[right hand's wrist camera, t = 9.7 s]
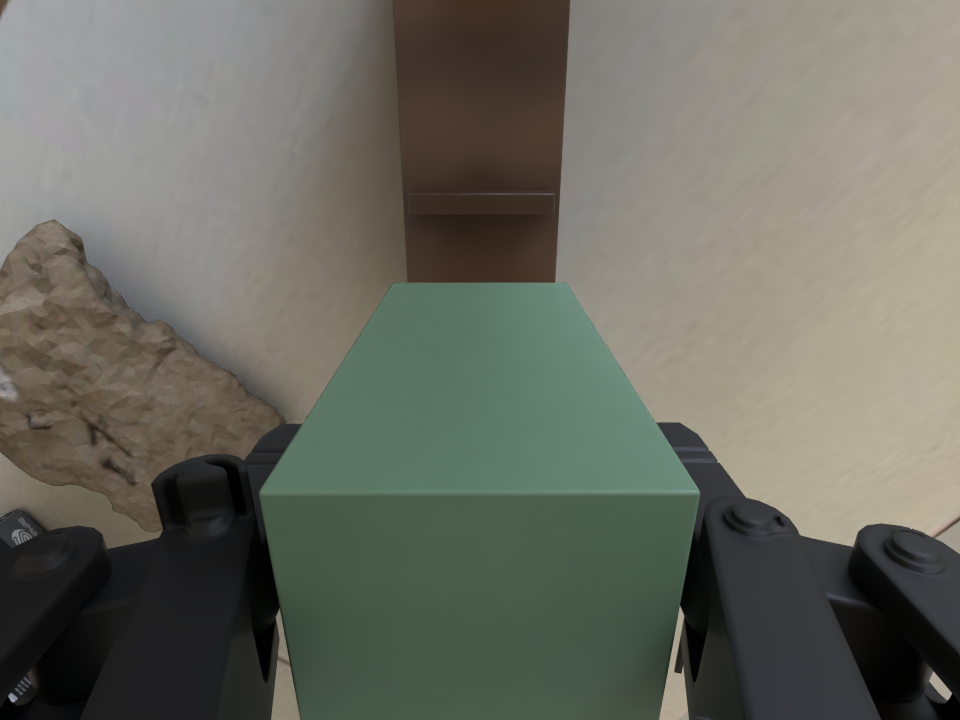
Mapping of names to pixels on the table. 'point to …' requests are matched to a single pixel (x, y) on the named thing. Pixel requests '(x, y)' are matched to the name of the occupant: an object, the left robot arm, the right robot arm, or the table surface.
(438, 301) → the block
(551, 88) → the slotted wooden block
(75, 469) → the stone
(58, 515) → the table surface
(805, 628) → the right robot arm
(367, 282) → the table surface
